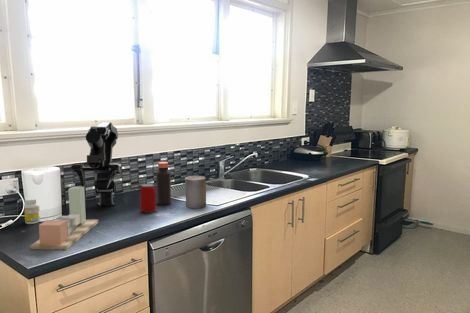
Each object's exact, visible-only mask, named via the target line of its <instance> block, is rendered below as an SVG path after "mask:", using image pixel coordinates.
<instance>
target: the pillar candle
mask: <svg viewBox="0 0 470 313" xmlns="http://www.w3.org/2000/svg"><path fill="white" fill-rule="evenodd" d="M184 179H185V180H184V181H185V182H184V184H185V187H184V188H185V207H186V208H187V209H202V208H205V207H206V206H207V183H206V180H207V178H206V176H203V175H189V176H186V177H184Z"/></svg>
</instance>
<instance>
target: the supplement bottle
mask: <svg viewBox="0 0 470 313" xmlns="http://www.w3.org/2000/svg"><path fill="white" fill-rule="evenodd" d="M36 203H37V202H36V199H28V198H26V199H25V204H24V207H23V209H24V210H23V211H24V222H25V224H27V225H32V224H37V223H39V222H40V221H41V215H40V216H39V211H40V205H39V206H38V205H37V204H36Z"/></svg>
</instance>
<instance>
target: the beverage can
mask: <svg viewBox="0 0 470 313" xmlns="http://www.w3.org/2000/svg"><path fill="white" fill-rule="evenodd" d="M139 200H140V205H139V206H140V211H141V212H143V213H152V212H154V211H155V210H156V209H157V193H156V186H155V184H153V183H142V184H141V186H140V188H139Z"/></svg>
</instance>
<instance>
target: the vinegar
mask: <svg viewBox="0 0 470 313" xmlns="http://www.w3.org/2000/svg"><path fill="white" fill-rule="evenodd" d="M157 168H158V170H157V171H156V173H155V185H156V186H155V191H156V205H159V206H167V205H170V204H171V203H172V191H171V190H172V188H171V186H172V184H171V183H172V182H171V181H172V180H171V178H172V177H171V171H170V170H169V162H168V161H159V162H157Z"/></svg>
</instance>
